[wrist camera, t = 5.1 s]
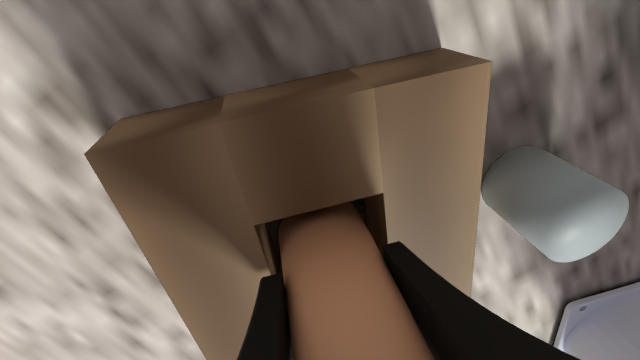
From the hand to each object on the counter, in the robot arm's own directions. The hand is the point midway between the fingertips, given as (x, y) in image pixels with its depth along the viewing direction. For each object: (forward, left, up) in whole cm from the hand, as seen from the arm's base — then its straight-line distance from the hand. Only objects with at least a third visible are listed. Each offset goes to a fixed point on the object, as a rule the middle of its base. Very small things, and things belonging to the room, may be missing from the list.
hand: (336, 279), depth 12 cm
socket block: (0, 0, -4) cm, 4 cm away
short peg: (-10, +1, -4) cm, 11 cm away
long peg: (0, 0, -3) cm, 3 cm away
